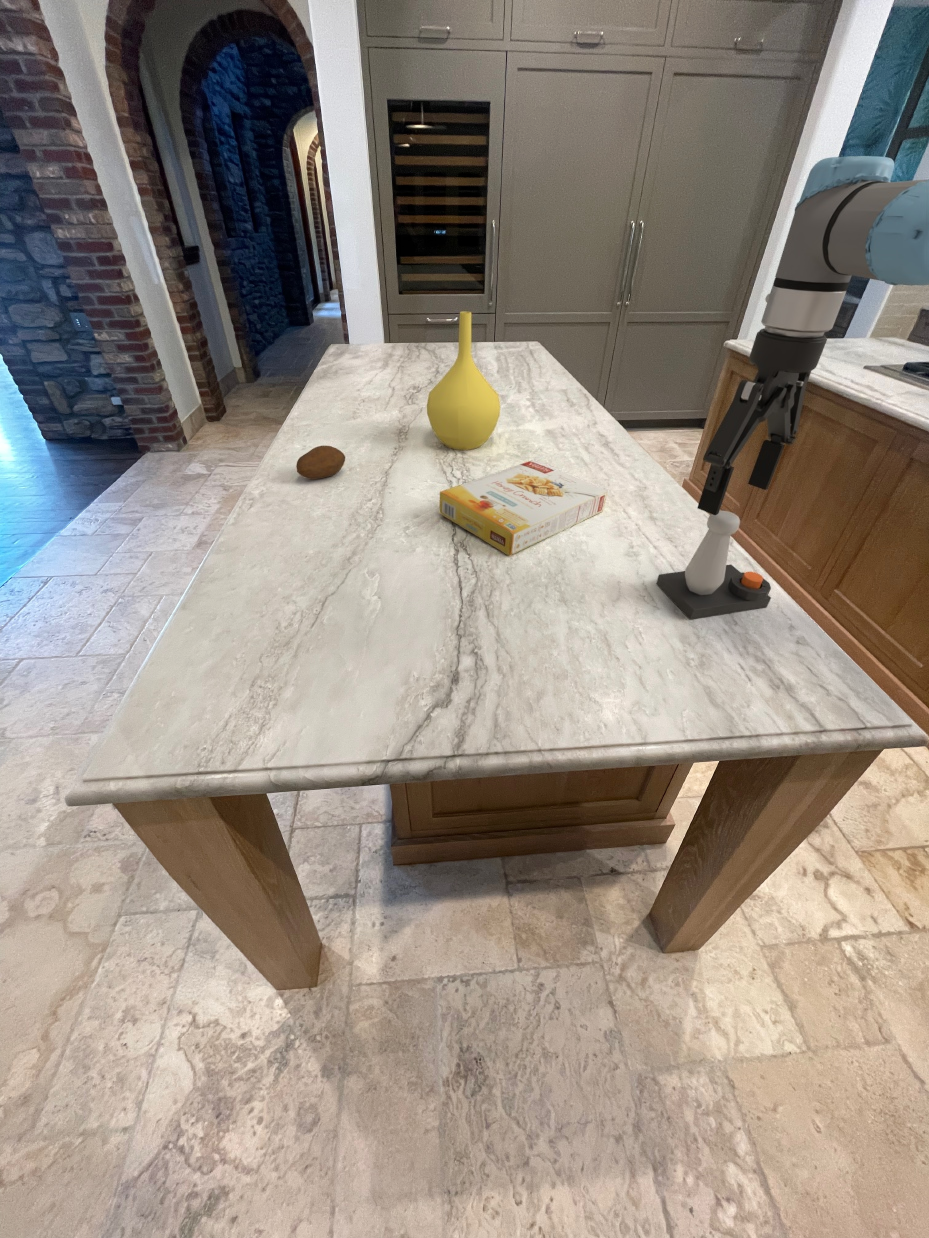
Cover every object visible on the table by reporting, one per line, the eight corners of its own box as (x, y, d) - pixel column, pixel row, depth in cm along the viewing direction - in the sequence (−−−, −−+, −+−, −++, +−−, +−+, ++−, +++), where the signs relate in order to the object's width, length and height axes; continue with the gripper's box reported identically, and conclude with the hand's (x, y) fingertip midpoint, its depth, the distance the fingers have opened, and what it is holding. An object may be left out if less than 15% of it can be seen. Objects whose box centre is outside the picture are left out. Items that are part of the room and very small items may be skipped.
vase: (511, 442, 140) (522, 312, 122) (468, 462, 129) (473, 323, 110) (457, 426, 149) (459, 303, 130) (412, 444, 137) (407, 312, 119)
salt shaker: (680, 575, 89) (704, 503, 80) (717, 581, 87) (744, 508, 79) (682, 594, 84) (707, 520, 76) (720, 601, 83) (750, 526, 75)
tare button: (751, 578, 86) (755, 570, 85) (763, 588, 84) (767, 580, 83) (737, 580, 85) (740, 572, 84) (748, 590, 83) (752, 582, 82)
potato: (291, 480, 119) (285, 449, 114) (334, 466, 125) (330, 436, 121) (308, 489, 115) (303, 458, 111) (352, 474, 122) (348, 444, 118)
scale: (729, 573, 93) (736, 556, 91) (770, 608, 85) (778, 590, 83) (655, 583, 90) (661, 566, 88) (691, 621, 82) (698, 603, 80)
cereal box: (437, 490, 103) (534, 455, 118) (437, 516, 106) (531, 478, 122) (514, 532, 92) (610, 487, 107) (511, 559, 95) (604, 512, 110)
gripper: (808, 316, 71) (752, 469, 84) (706, 336, 59) (659, 512, 72) (869, 325, 67) (800, 485, 80) (773, 348, 54) (710, 534, 67)
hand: (733, 498), depth 76 cm, fingers open, 13 cm apart
